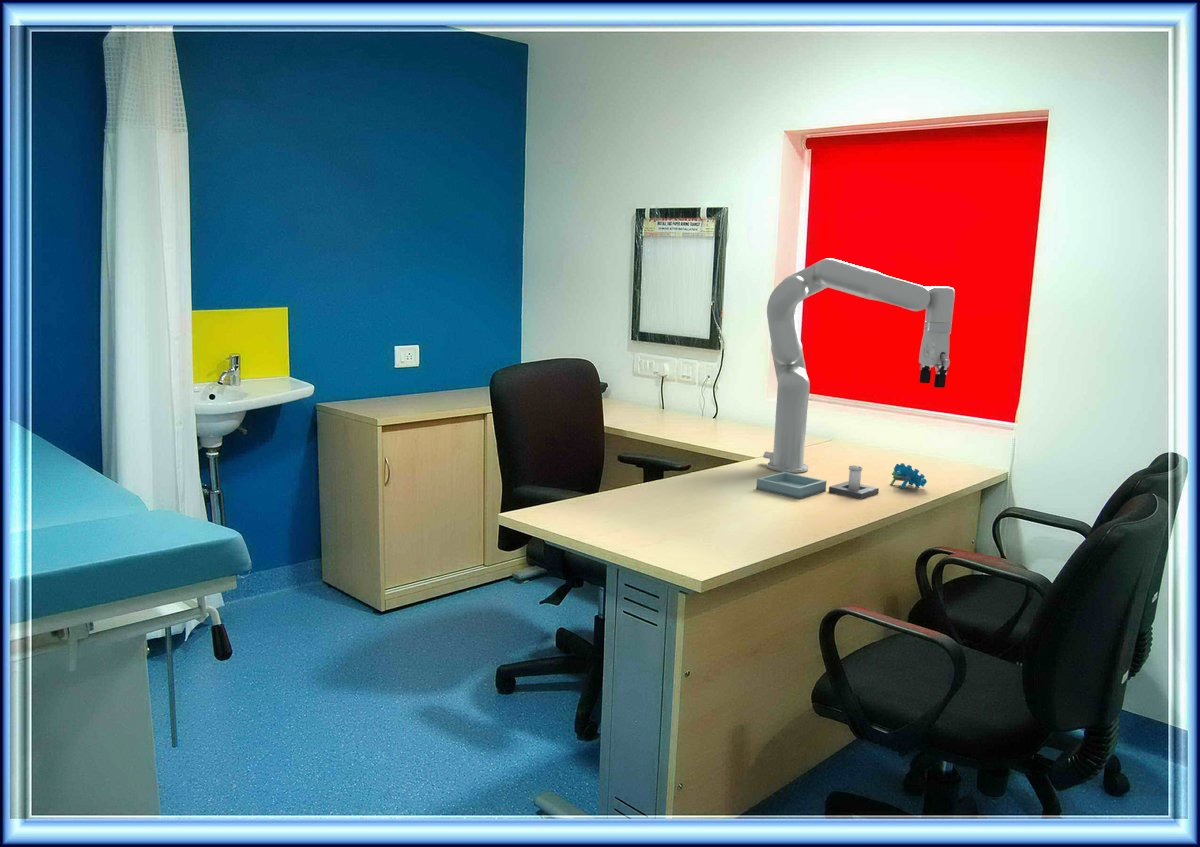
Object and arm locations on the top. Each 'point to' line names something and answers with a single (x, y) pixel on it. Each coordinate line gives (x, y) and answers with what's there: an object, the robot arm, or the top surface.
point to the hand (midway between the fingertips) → (931, 385)
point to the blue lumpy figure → (907, 476)
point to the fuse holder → (860, 494)
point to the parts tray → (791, 485)
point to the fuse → (854, 477)
